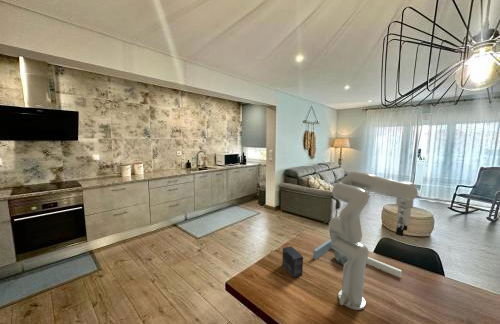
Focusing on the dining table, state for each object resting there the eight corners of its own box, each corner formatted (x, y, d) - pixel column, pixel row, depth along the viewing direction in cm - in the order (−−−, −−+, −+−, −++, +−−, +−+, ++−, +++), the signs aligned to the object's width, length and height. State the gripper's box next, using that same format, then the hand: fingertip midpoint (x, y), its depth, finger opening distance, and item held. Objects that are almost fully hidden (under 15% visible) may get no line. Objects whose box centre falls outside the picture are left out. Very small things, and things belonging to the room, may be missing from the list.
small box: (302, 275, 127) (303, 256, 125) (293, 278, 124) (293, 259, 123) (290, 262, 139) (291, 245, 137) (281, 265, 136) (282, 247, 135)
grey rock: (355, 264, 132) (347, 248, 134) (341, 269, 134) (333, 254, 136) (350, 257, 145) (343, 243, 147) (337, 262, 147) (330, 248, 149)
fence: (389, 295, 111) (390, 285, 110) (313, 258, 144) (313, 250, 143) (401, 276, 126) (402, 267, 125) (329, 246, 159) (330, 238, 159)
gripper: (409, 209, 110) (406, 240, 112) (415, 201, 122) (412, 229, 124) (392, 205, 116) (389, 235, 118) (400, 198, 127) (397, 225, 130)
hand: (401, 232), depth 121 cm, fingers open, 9 cm apart
